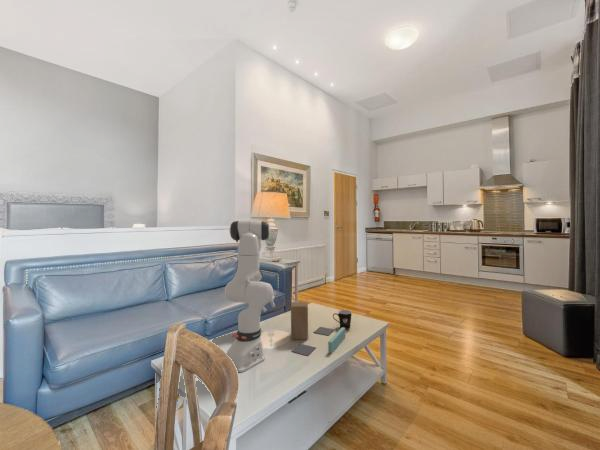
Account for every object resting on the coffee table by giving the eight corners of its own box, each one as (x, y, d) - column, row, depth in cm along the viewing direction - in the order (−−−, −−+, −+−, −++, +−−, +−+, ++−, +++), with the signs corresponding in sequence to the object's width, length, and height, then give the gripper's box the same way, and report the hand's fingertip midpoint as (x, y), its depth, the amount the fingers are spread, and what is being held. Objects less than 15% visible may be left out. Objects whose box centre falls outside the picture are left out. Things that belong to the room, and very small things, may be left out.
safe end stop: (331, 353, 145) (331, 342, 145) (328, 352, 146) (328, 341, 146) (345, 337, 165) (345, 327, 164) (342, 337, 165) (342, 327, 165)
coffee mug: (353, 326, 182) (353, 311, 182) (348, 330, 175) (348, 315, 175) (338, 322, 189) (337, 308, 189) (332, 326, 182) (332, 311, 182)
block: (308, 340, 161) (307, 306, 161) (291, 340, 162) (290, 306, 161) (307, 333, 171) (307, 301, 171) (291, 333, 172) (291, 301, 171)
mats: (308, 356, 143) (308, 355, 143) (291, 351, 147) (291, 351, 147) (334, 330, 176) (334, 329, 176) (320, 327, 181) (320, 326, 181)
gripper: (250, 292, 171) (263, 310, 166) (268, 285, 189) (281, 301, 184) (244, 298, 173) (257, 316, 168) (263, 291, 191) (275, 307, 186)
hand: (270, 308), depth 176 cm, fingers open, 8 cm apart
